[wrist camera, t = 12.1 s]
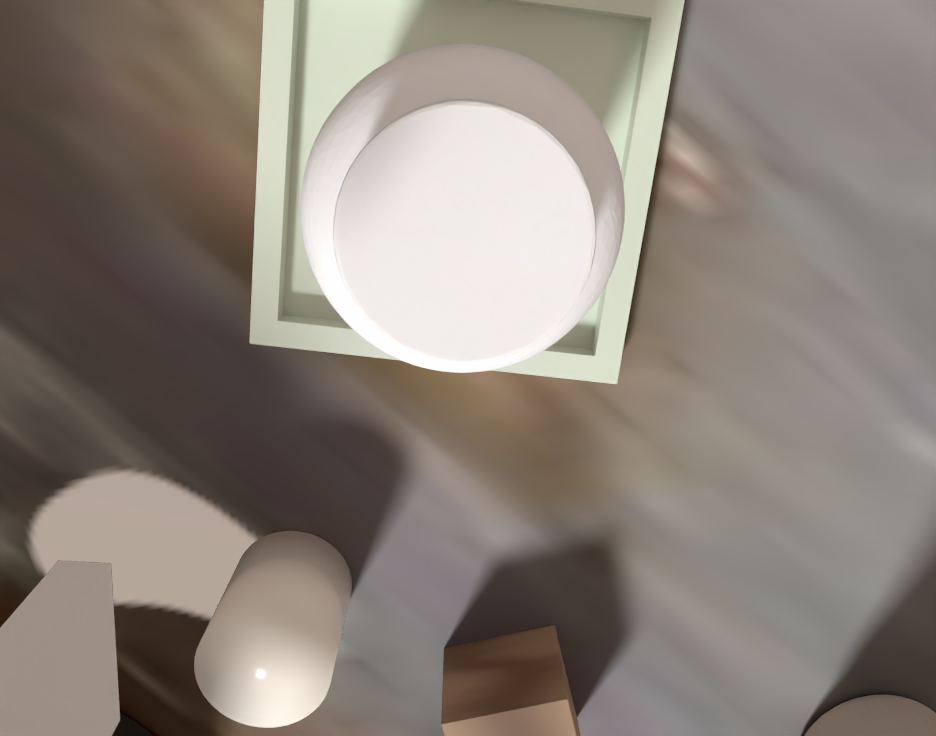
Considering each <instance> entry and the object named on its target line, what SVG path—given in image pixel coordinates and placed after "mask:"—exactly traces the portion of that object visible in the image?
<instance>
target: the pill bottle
mask: <svg viewBox="0 0 936 736" xmlns="http://www.w3.org/2000/svg"><path fill="white" fill-rule="evenodd" d="M300 208H301V227H302V236H303V240H304V244H305V248H306V253H307V256H308V259H309V262H310V265H311V268H312V271H313V273H314V275H315V277H316V279H317V281H318V283H319V285H320V287H321V289H322V291H323V293H324V294H325V296H326V297H327V299H328V301H329V302H330V304H331V305H332V306H333V307H334V309H335V310H336V311H337V312H338V314H339V315H340V316H341V317H342V318H343V320H344V321H345V322H346V323H347V324H348V325H349V326H350V327H351V328H352V329H353V330H355V331H356V332H357V333H358V334H359V335H361V336H362V337H363V338H364V339H365V340H367V341H368V342H369V343H371V344H372V345H374V346H375V347H377V348H379V349H380V350H382V351H384V352H385V353H387V354H389V355H391V356H393V357H395V358H397V359H400V360H402V361H405V362H407V363H410V364H412V365H416V366H419V367H423V368H427V369H432V370H438V371H445V372H461V373H466V372H481V371H488V370H493V369H498V368H502V367H506V366H509V365H512V364H515V363H518V362H520V361H523V360H526V359H528V358H530V357H532V356H534V355H536V354H538V353H540V352H542V351H544V350H545V349H547V348H548V347H550V346H551V345H553V344H554V343H556V342H557V341H558V340H560V339H561V338H562V337H563V336H564V335H566V334H567V333H568V332H569V331H570V330H571V329H572V328H573V327H574V326H575V325H576V324H577V323H578V322H579V321H580V320H581V319H582V318H583V317H584V316H585V315H586V314H587V312H588V311H589V310H590V309H591V307H592V306H593V305H594V304H595V302H596V301H597V299H598V298H599V296H600V294H601V293H602V291H603V290H604V288H605V286H606V284H607V282H608V280H609V278H610V276H611V273H612V271H613V269H614V266H615V263H616V260H617V257H618V254H619V250H620V245H621V241H622V236H623V229H624V222H625V196H624V187H623V179H622V175H621V170H620V166H619V162H618V159H617V156H616V153H615V150H614V148H613V145H612V143H611V141H610V139H609V136H608V134H607V133H606V131H605V129H604V127H603V125H602V124H601V122H600V120H599V119H598V117H597V115H596V114H595V113H594V111H593V110H592V109H591V108H590V106H589V105H588V104H587V103H586V101H585V100H584V99H583V98H582V96H581V95H580V94H579V93H578V92H577V91H576V90H575V89H574V88H573V87H572V86H571V85H570V84H568V83H567V82H566V81H565V80H564V79H562V78H561V77H560V76H559V75H557V74H556V73H554V72H553V71H551V70H550V69H548V68H547V67H545V66H543V65H542V64H540V63H538V62H536V61H534V60H532V59H530V58H528V57H526V56H523V55H520V54H518V53H515V52H511V51H508V50H505V49H501V48H497V47H493V46H486V45H478V44H449V45H439V46H433V47H428V48H424V49H420V50H417V51H414V52H411V53H408V54H405V55H402V56H400V57H397V58H395V59H393V60H391V61H389V62H387V63H385V64H383V65H382V66H380V67H378V68H377V69H375V70H373V71H372V72H371V73H369V74H368V75H367V76H365V77H364V78H363V79H362V80H360V81H359V82H358V83H357V84H356V85H355V86H354V87H353V88H352V89H351V90H350V91H349V92H348V93H347V94H346V95H345V96H344V97H343V99H342V100H341V101H340V102H339V103H338V104H337V106H336V107H335V108H334V109H333V111H332V112H331V114H330V115H329V116H328V118H327V119H326V121H325V122H324V124H323V126H322V127H321V129H320V131H319V133H318V135H317V137H316V140H315V142H314V144H313V146H312V149H311V151H310V155H309V158H308V161H307V165H306V169H305V173H304V178H303V184H302V192H301V206H300Z"/></svg>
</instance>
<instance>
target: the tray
mask: <svg viewBox="0 0 936 736" xmlns="http://www.w3.org/2000/svg"><path fill="white" fill-rule="evenodd" d="M684 1H685V0H264V17H263V41H262V64H261V87H260V110H259V133H258V157H257V180H256V203H255V226H254V249H253V273H252V296H251V319H250V342H249V344H258V345H267V346H276V347H285V348H294V349H303V350H312V351H321V352H330V353H339V354H348V355H357V356H366V357H375V358H385V359H394V360H400V359H397V358H395V357H393V356H391V355H389V354H387V353H385V352H384V351H382V350H380V349H379V348H377V347H375V346H374V345H372V344H371V343H369V342H368V341H367V340H365V339H364V338H363V337H362V336H361V335H359V334H358V333H357V332H356V331H355V330H353V329H352V328H351V327H350V326H349V325H348V324H347V323H346V322H345V321H344V320H343V318H342V317H341V316H340V315H339V314H338V312H337V311H336V310H335V309H334V307H333V306H332V305H331V304H330V302H329V301H328V299H327V297H326V296H325V294H324V293H323V291H322V289H321V287H320V285H319V283H318V281H317V279H316V277H315V275H314V273H313V271H312V268H311V265H310V262H309V259H308V256H307V253H306V248H305V244H304V240H303V236H302V227H301V208H300V206H301V192H302V184H303V178H304V173H305V169H306V165H307V161H308V158H309V155H310V151H311V149H312V146H313V144H314V142H315V140H316V137H317V135H318V133H319V131H320V129H321V127H322V126H323V124H324V122H325V121H326V119H327V118H328V116H329V115H330V114H331V112H332V111H333V109H334V108H335V107H336V106H337V104H338V103H339V102H340V101H341V100H342V99H343V97H344V96H345V95H346V94H347V93H348V92H349V91H350V90H351V89H352V88H353V87H354V86H355V85H356V84H357V83H358V82H359V81H360V80H362V79H363V78H364V77H365V76H367V75H368V74H369V73H371V72H372V71H373V70H375V69H377V68H378V67H380V66H382V65H383V64H385V63H387V62H389V61H391V60H393V59H395V58H397V57H400V56H402V55H405V54H408V53H411V52H414V51H417V50H420V49H424V48H428V47H433V46H439V45H449V44H478V45H486V46H493V47H497V48H501V49H505V50H508V51H511V52H515V53H518V54H520V55H523V56H526V57H528V58H530V59H532V60H534V61H536V62H538V63H540V64H542V65H543V66H545V67H547V68H548V69H550V70H551V71H553V72H554V73H556V74H557V75H559V76H560V77H561V78H562V79H564V80H565V81H566V82H567V83H568V84H570V85H571V86H572V87H573V88H574V89H575V90H576V91H577V92H578V93H579V94H580V95H581V96H582V98H583V99H584V100H585V101H586V103H587V104H588V105H589V106H590V108H591V109H592V110H593V111H594V113H595V114H596V115H597V117H598V119H599V120H600V122H601V124H602V125H603V127H604V129H605V131H606V133H607V134H608V136H609V139H610V141H611V143H612V145H613V148H614V150H615V153H616V156H617V159H618V162H619V166H620V170H621V175H622V179H623V187H624V196H625V222H624V229H623V236H622V241H621V245H620V250H619V254H618V257H617V260H616V263H615V266H614V269H613V271H612V273H611V276H610V278H609V280H608V282H607V284H606V286H605V288H604V290H603V291H602V293H601V294H600V296H599V298H598V299H597V301H596V302H595V304H594V305H593V306H592V307H591V309H590V310H589V311H588V312H587V314H586V315H585V316H584V317H583V318H582V319H581V320H580V321H579V322H578V323H577V324H576V325H575V326H574V327H573V328H572V329H571V330H570V331H569V332H568V333H567V334H566V335H564V336H563V337H562V338H561V339H560V340H558V341H557V342H556V343H554V344H553V345H551V346H550V347H548V348H547V349H545V350H544V351H542V352H540V353H538V354H536V355H534V356H532V357H530V358H528V359H526V360H523V361H520V362H518V363H515V364H512V365H509V366H506V367H502V368H498V369H493V371H502V372H511V373H520V374H529V375H538V376H548V377H557V378H566V379H575V380H584V381H593V382H602V383H611V384H617V380H618V375H619V369H620V363H621V358H622V352H623V346H624V341H625V335H626V329H627V324H628V318H629V312H630V307H631V301H632V295H633V290H634V284H635V278H636V273H637V267H638V261H639V256H640V250H641V244H642V239H643V233H644V227H645V222H646V216H647V210H648V205H649V199H650V194H651V188H652V182H653V177H654V171H655V165H656V160H657V154H658V148H659V143H660V137H661V131H662V126H663V120H664V114H665V109H666V103H667V97H668V92H669V86H670V80H671V75H672V69H673V63H674V58H675V52H676V46H677V41H678V35H679V29H680V24H681V18H682V12H683V7H684Z"/></svg>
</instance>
